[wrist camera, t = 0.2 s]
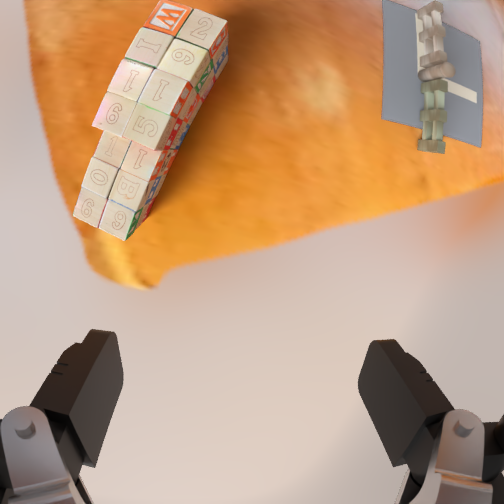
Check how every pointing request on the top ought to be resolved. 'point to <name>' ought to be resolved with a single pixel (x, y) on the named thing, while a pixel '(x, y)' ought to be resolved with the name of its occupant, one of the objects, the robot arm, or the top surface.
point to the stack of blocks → (150, 114)
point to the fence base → (431, 36)
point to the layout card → (408, 65)
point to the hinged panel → (433, 116)
